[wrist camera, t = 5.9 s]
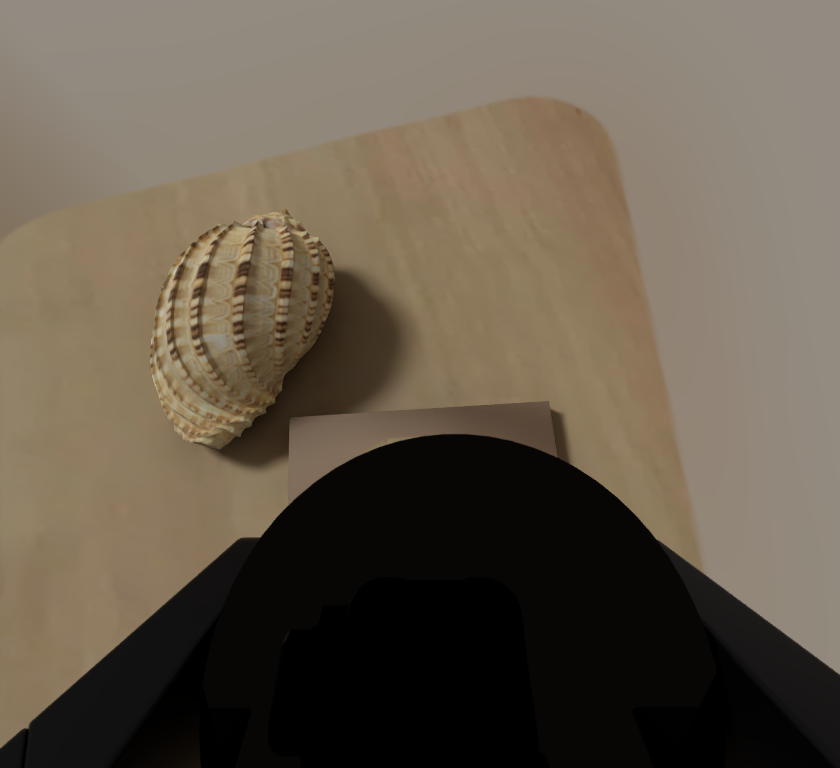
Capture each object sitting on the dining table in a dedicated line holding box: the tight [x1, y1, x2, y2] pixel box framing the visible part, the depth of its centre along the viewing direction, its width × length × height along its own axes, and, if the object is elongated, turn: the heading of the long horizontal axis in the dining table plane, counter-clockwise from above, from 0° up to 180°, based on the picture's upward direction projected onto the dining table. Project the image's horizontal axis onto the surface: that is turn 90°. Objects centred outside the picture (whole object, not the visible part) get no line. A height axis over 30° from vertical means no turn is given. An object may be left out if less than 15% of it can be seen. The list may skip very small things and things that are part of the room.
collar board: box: [288, 401, 558, 505], centre depth 18 cm, size 14×11×2 cm
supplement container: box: [199, 434, 725, 768], centre depth 10 cm, size 6×6×9 cm
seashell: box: [151, 209, 335, 450], centre depth 21 cm, size 8×6×10 cm
